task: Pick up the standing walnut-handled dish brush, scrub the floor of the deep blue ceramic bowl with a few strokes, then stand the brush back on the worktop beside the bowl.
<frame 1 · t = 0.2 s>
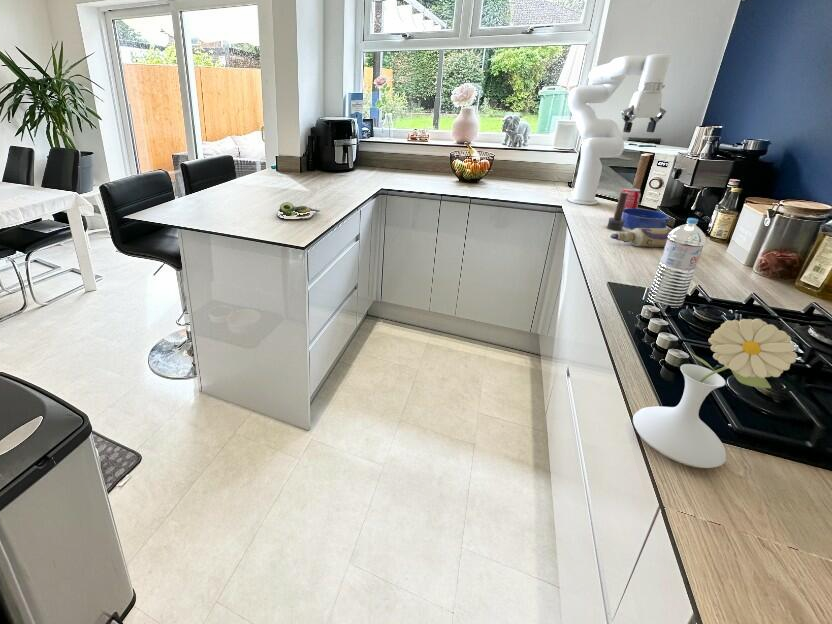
hand: (638, 132, 164), 37 cm above the worktop, tool pointing down, fingers open, 9 cm apart
blue bowl: (640, 226, 165), on the worktop
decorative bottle: (648, 245, 145), on the worktop
water bottle: (660, 312, 102), on the worktop
salad plate: (294, 215, 182), on the worktop
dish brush: (614, 228, 162), on the worktop
soda can: (624, 215, 179), on the worktop
flower in vase: (679, 448, 64), on the worktop
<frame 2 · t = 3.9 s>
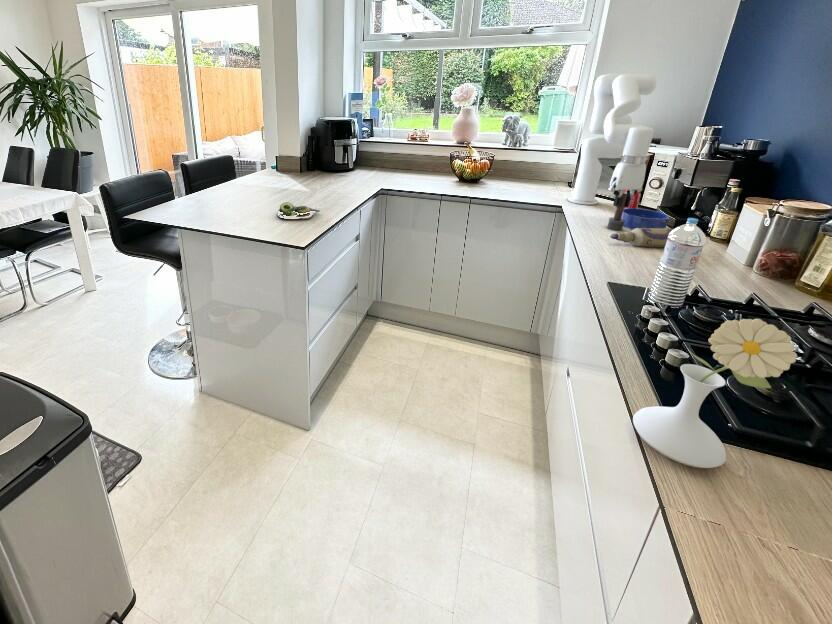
hand: (620, 206, 158), 10 cm above the worktop, tool pointing down, fingers closed on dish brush, 2 cm apart
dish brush: (614, 228, 162), on the worktop, touching gripper
everything else where it was.
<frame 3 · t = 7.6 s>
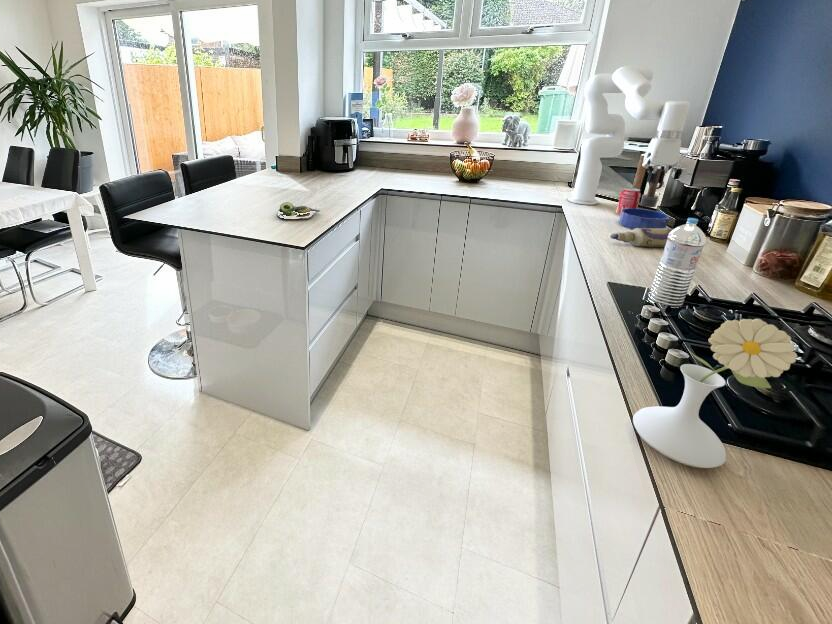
hand: (654, 182, 158), 18 cm above the worktop, tool pointing down, fingers closed on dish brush, 2 cm apart
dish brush: (647, 205, 161), point 9 cm above the worktop, touching gripper
everything else where it was.
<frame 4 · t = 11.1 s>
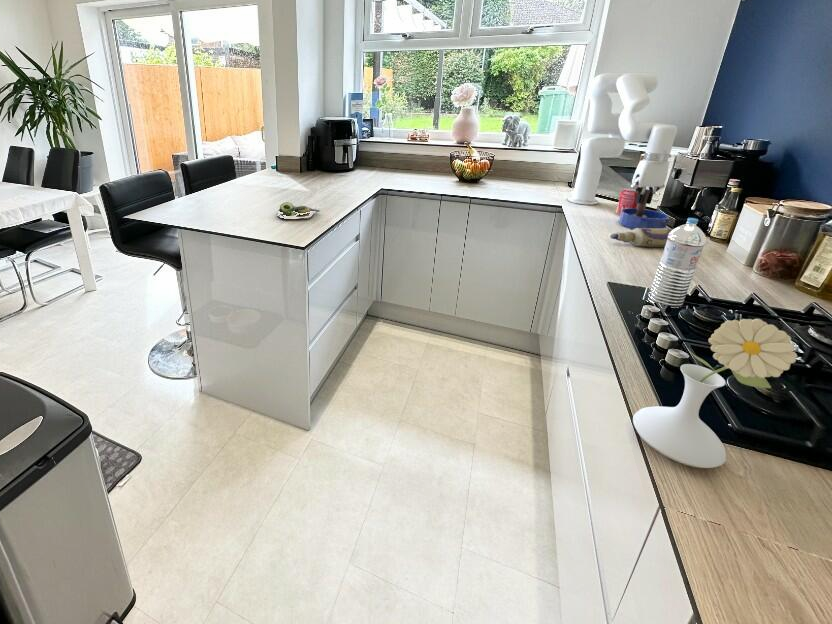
hand: (642, 202, 161), 10 cm above the worktop, tool pointing down, fingers closed on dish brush, 2 cm apart
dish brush: (636, 224, 164), point 1 cm above the worktop, touching gripper
everything else where it was.
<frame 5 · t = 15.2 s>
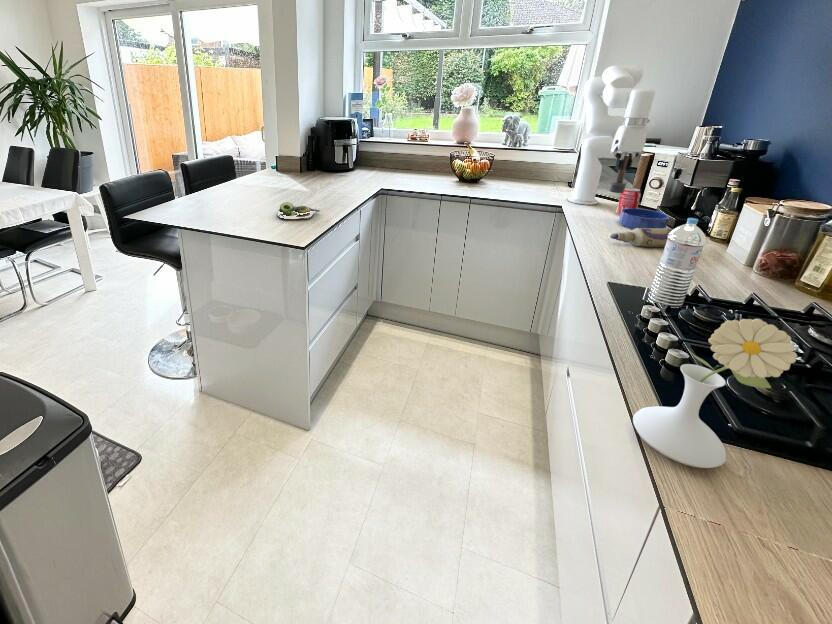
hand: (622, 169, 162), 23 cm above the worktop, tool pointing down, fingers closed on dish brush, 2 cm apart
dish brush: (616, 191, 165), point 13 cm above the worktop, touching gripper
everything else where it was.
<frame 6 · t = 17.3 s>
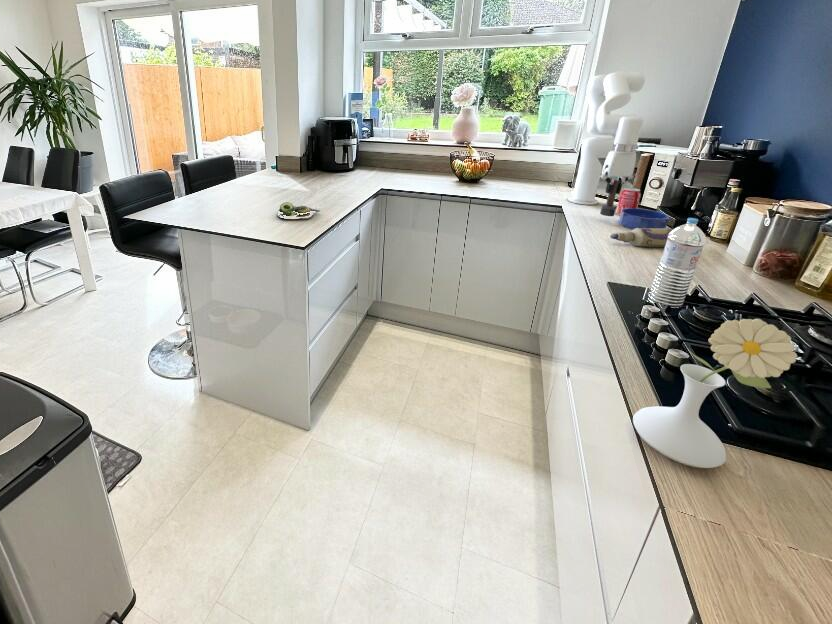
hand: (612, 192, 166), 13 cm above the worktop, tool pointing down, fingers closed on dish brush, 2 cm apart
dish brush: (606, 214, 169), point 3 cm above the worktop, touching gripper
everything else where it was.
when the fingers open (9 cm above the worktop, at t = 18.4 s): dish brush stays where it is, on the worktop.
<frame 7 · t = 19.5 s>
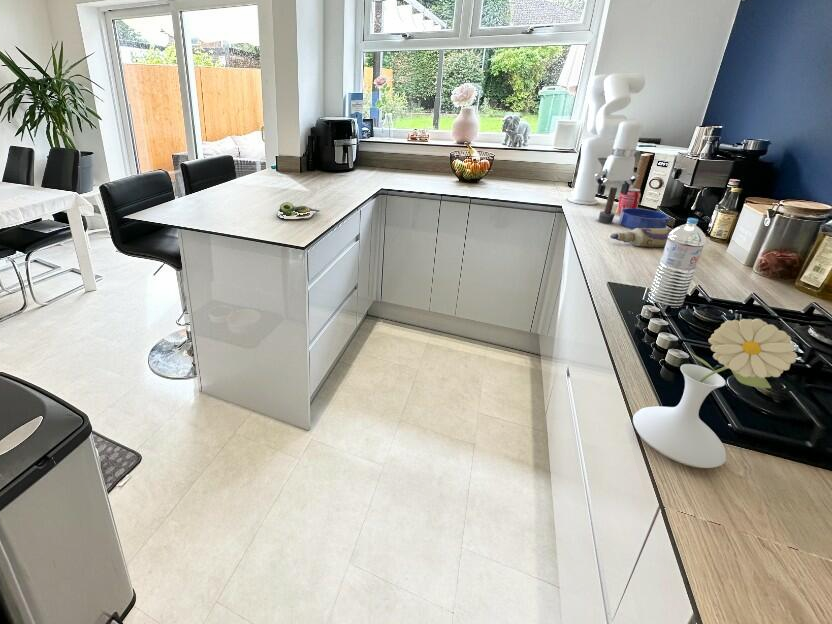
hand: (611, 194, 167), 12 cm above the worktop, tool pointing down, fingers open, 9 cm apart
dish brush: (605, 221, 170), on the worktop
everything else where it was.
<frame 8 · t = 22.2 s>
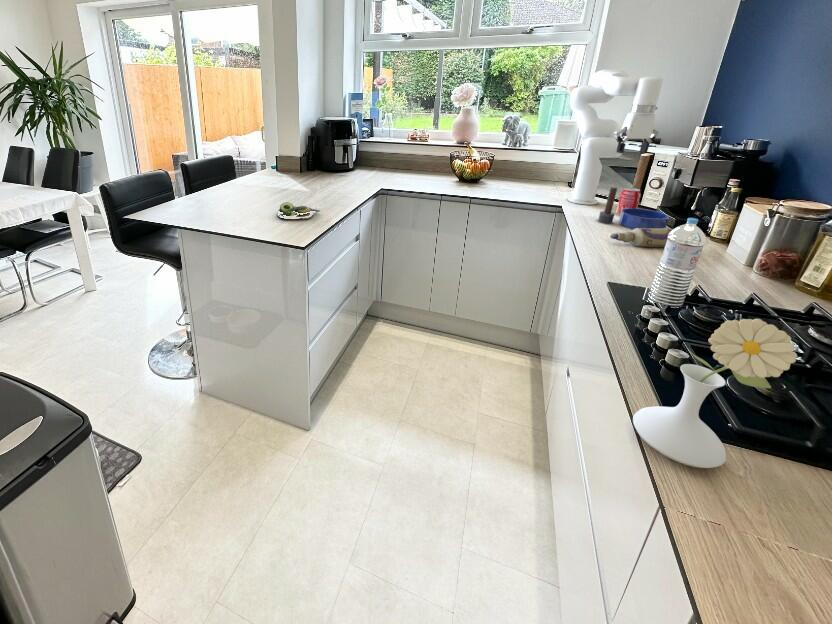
hand: (631, 152, 166), 28 cm above the worktop, tool pointing down, fingers open, 9 cm apart
nothing on the worktop moved.
at the end: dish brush 0.2 cm from the target spot, on the worktop; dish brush tilted 0°; the gripper is holding nothing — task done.
